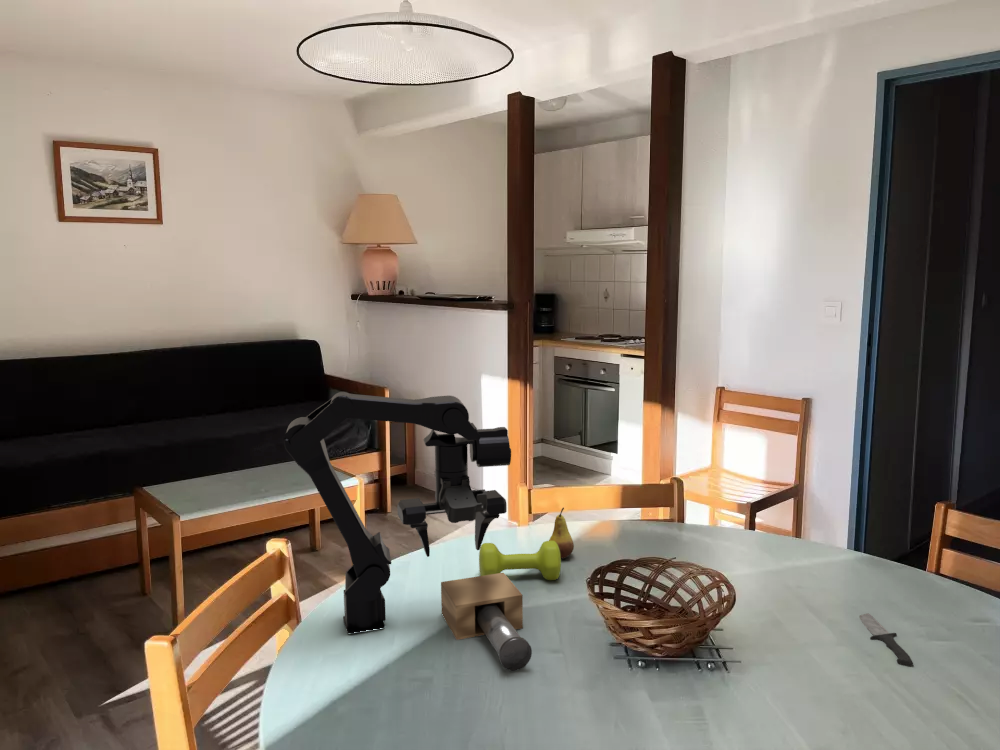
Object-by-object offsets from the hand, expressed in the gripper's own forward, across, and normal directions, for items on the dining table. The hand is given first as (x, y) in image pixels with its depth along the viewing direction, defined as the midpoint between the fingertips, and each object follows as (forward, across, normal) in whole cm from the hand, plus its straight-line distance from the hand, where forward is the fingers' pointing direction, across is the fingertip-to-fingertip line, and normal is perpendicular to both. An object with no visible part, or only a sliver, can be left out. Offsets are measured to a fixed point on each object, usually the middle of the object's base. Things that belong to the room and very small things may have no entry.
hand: (452, 552), depth 137 cm
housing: (+12, +4, -4) cm, 13 cm away
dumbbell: (+12, +17, +12) cm, 24 cm away
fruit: (+12, +29, +18) cm, 36 cm away
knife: (+12, +67, -30) cm, 75 cm away
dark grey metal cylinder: (+12, +4, -14) cm, 19 cm away
